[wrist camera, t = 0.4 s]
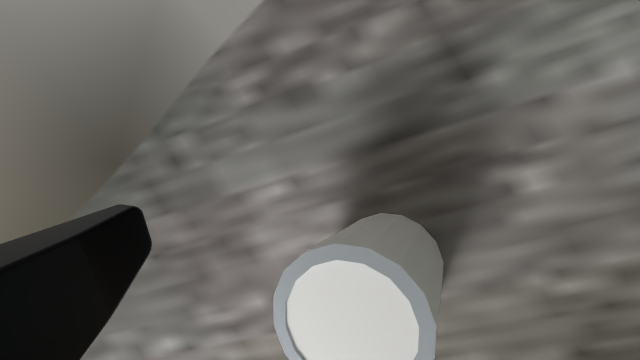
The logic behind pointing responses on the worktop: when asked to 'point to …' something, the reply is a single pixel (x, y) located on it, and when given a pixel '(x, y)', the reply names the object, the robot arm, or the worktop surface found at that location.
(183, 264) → the worktop surface
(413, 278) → the shot glass
